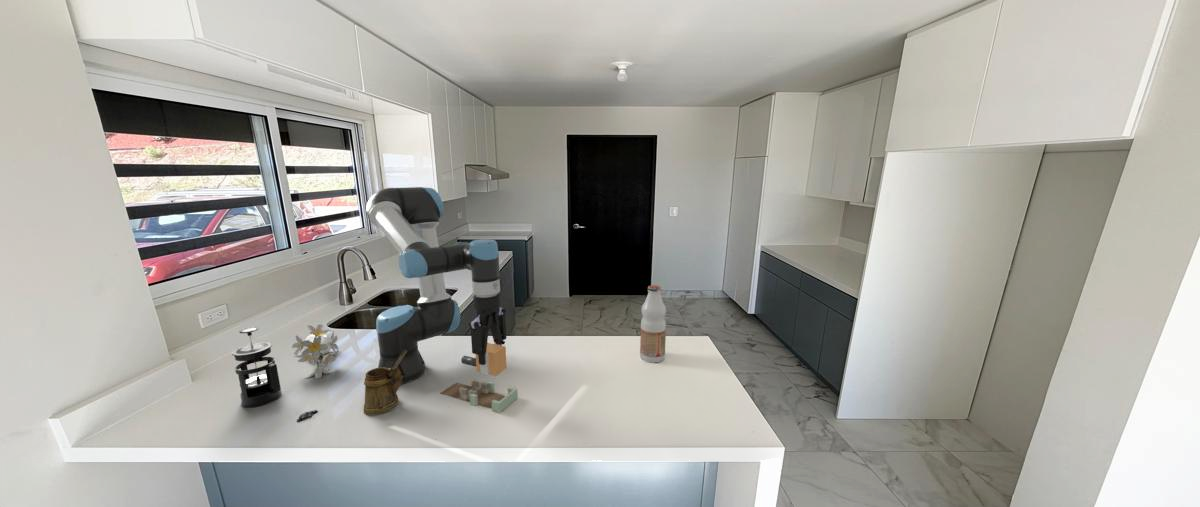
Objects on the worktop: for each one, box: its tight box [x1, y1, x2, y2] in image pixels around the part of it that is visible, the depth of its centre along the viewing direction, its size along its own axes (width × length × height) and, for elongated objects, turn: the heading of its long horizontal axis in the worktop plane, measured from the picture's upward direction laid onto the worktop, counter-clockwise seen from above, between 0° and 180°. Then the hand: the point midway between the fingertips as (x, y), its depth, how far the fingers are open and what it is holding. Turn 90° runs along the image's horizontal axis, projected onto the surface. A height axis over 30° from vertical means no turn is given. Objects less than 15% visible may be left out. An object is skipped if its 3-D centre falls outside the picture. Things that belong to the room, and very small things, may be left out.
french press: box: [231, 327, 283, 409], centre depth 114 cm, size 12×9×23 cm
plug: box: [460, 342, 507, 377], centre depth 113 cm, size 14×5×7 cm, turn 66°
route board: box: [439, 378, 516, 413], centre depth 116 cm, size 24×7×4 cm, turn 67°
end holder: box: [469, 380, 519, 414], centre depth 114 cm, size 11×9×3 cm
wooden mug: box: [363, 349, 407, 416], centre depth 111 cm, size 9×14×18 cm, turn 94°
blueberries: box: [296, 409, 319, 423], centre depth 108 cm, size 7×8×2 cm
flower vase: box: [291, 324, 340, 379], centre depth 138 cm, size 13×18×25 cm
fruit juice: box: [639, 284, 667, 364], centre depth 141 cm, size 9×9×28 cm
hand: (491, 368), depth 112 cm, fingers closed on plug, 5 cm apart
